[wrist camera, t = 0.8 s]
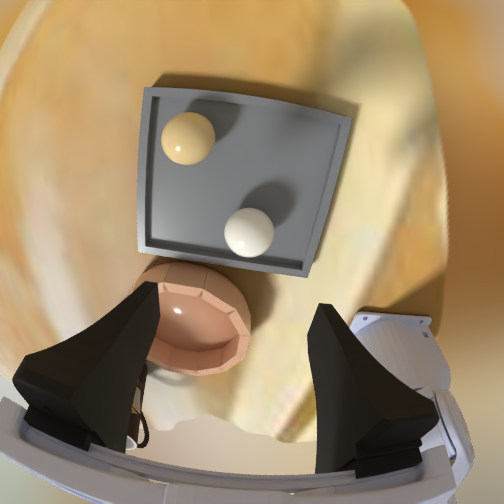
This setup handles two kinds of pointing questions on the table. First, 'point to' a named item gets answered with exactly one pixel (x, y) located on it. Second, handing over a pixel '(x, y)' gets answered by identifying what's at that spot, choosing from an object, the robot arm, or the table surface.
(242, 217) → the white ball
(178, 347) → the bowl
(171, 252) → the parts tray
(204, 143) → the tan ball
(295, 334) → the table surface
